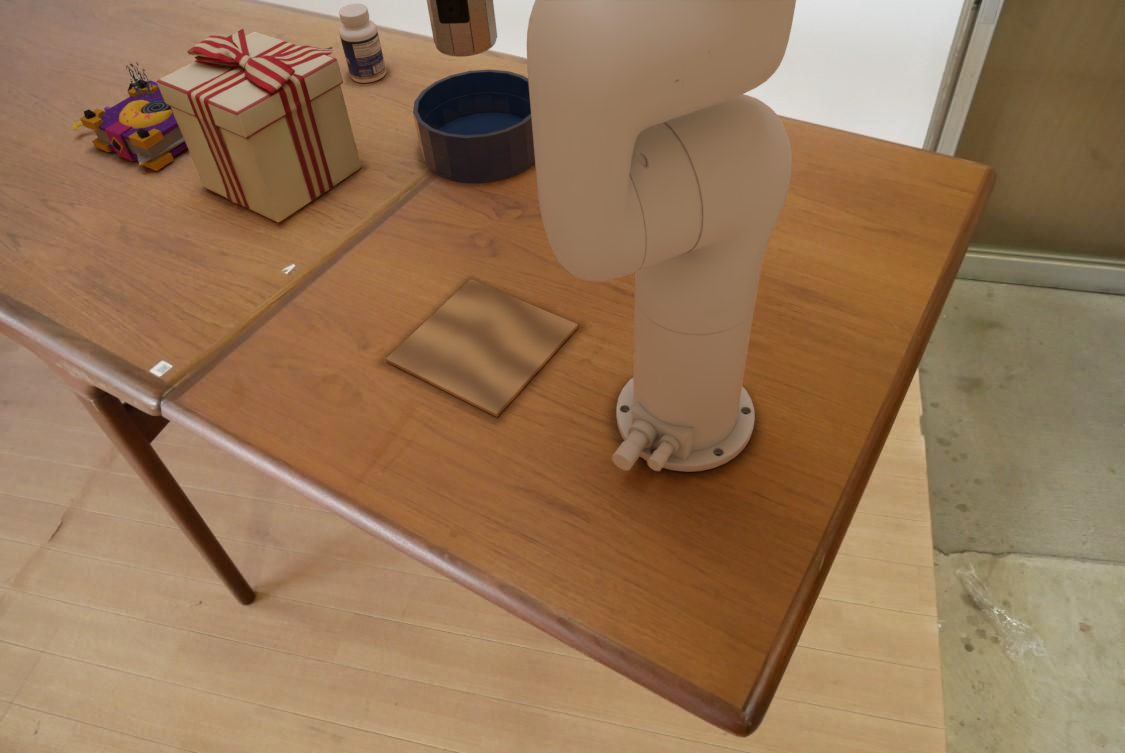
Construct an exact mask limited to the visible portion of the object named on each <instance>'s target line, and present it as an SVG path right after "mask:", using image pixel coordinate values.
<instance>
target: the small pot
mask: <svg viewBox="0 0 1125 753" xmlns="http://www.w3.org/2000/svg"><path fill="white" fill-rule="evenodd" d="M426 4H427V10H428V15H429V21H430V28H431V32H432V38H433V43H434V44H435V48H436V50H437V51H438V52H439V53H441V54H443V55H446V56H450V57H459V58H460V57H462V58H463V57H472V56H477V55H480V54H482V53H485V52H487V51H488V50H490V49H491V48H493V47H494V46H495V45H496V42H497V39H498V31H497V30H498V29H497V22H496V21H497V20H496V14H495V4H494V0H468V7H469V14H470V20H469V22H468V23H454V24H442V23H440V21H439V17H438V11H437V5H436V0H426Z"/></svg>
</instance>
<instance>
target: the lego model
mask: <svg viewBox="0 0 1125 753" xmlns="http://www.w3.org/2000/svg"><path fill="white" fill-rule="evenodd" d="M135 63H136V66H135V65H134V64H133V63H130V62H129V65H126V66H125V68H126V69H128V72H129V75H130V78H129V80H130V83H129V86H128V88H127V94H128V97H127V98H125V99H123V100H122V101H120V102H118V103H116V104H115V105H113V106H111V107H110V106H106V105H105V106H104V107H103V109H100V108H95V109H94V110H91V109H90V108H88V109H86V110H84V111H83V115H84V116H81V117H80V118H79V120H80V121H76V122H75V123H74V124H72V127H71V129H72V130H74V131H77V130H78V128H80V127H82V126H83V127H84V128H87V129H90V130H92V131H94V132H93V135H94V136H96V138H94V139H93V140H92V142H91V143H92V144H93V146H94V148H96V149H99V150H101V151H104V152H107V153H110V152H115V153H116V154H117V157H121V158H123V159H126V160H128V161H131V162H135V161H137V162H138V165H139V166H140V167H141V166H143V167H145V168H148V169H150V170H153V171H155V172H158V171H159V170H161V169H162V168H164V167H165V166H167V165H169V164H170V163H172V162H173V161H174V157H176V156H177V155H178V154H180V153H182V152H183V151H185V150H186V149H188V147H187V145H186V142H185V140H184V138H183V135H182V133H181V130H180V128H179V126H178V123H177V121H176V119H175V116H174V114H173V111H172V109H171V107H170V106H168V105H166V103H165V101H164V99H163V96H162V94H161V91H160V89H159V87H158V84H157V81H153V80H149V77H148V76H147V74H146V70H145V68H142V72H141V71H140V70H139V69H138V68H139V63H138V61H136V62H135ZM137 66H138V67H137ZM130 67H131V68H133V70H132V69H131V68H130ZM134 72H135V73H134ZM142 74H143V75H142ZM135 75H136V76H135ZM136 77H138V78H136Z"/></svg>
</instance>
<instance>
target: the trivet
mask: <svg viewBox="0 0 1125 753" xmlns="http://www.w3.org/2000/svg"><path fill="white" fill-rule="evenodd" d="M578 328H579V325H578V323H576V322H573V321H571V320H569V319H567V318H565V317H562V316H559V315H557V314H554V313H553V312H549V310H548V311H547V310H545V309H543V308H541V307H538V306H536V305H533V304H531V303H528V302H527V301H524V300H522V299H520V298H517V297H515V296H512V295H510V294H508V293H506V292H504V291H501V290H498V289H495V288H493V287H491V286H490V285H489V286H488V285H486V284H484V283H483V282H479V281H477V280H474V279H472V278H470V279H469V280H468V281H467V282H466V283H464V284H463V285H462V286H461V287H460V288H459V289H458V290H457V291H456V292H454V294H453V295H452V296H451V297H449V299H447V301H445V302H444V303H443V304H442V305H441V306H440V307H439V308H438V309H437V310H436V311H435V312H434V313H432V314H431V316H429V318H427V319H426V320H425V321H424V322H423V323H422V324H421V325H420V326H419V327H418V328H416V329H415V330H414V331H413V333H411V334H410V335H409V336H408V337H407V338H406V339H405V340H404V341H403V342H401V344H400V345H399V346H397V348H395V349H394V350H393V351H392V352H391V353H390V354H389V355H388V356H387V357H386V358H385V361H386V363H388V364H389V365H391V366H393V367H395V368H398V369H400V370H402V371H404V372H406V373H408V374H410V375H412V376H414V377H416V378H418V379H420V380H422V381H424V382H426V383H428V384H430V385H432V386H433V387H436V388H438V389H439V390H442V391H444V392H446V393H448V394H450V395H452V396H454V397H455V398H458V399H459V400H462V401H463V402H466V403H468V404H470V405H472V406H473V407H475V408H478V409H480V410H482V411H484V412H486V413H487V414H489V415H492V416H494V417H495V418H498V417H499V416H500V415H501V414H502V413H503V412H504V410H505V409H506V408H507V407H508V406H509V405H510V404H511V402H512V401H513V400H514V399H515V398H516V397H517V396H518V395H519V394H520V393H521V392H522V391H523V389H525V387H526V386H527V385H528V384H529V382H531V381H532V379H534V377H535V376H536V375H537V374H538V372H539V371H541V369H542V368H544V366H545V365H546V364H547V362H548V361H550V359H551V358H552V357H553V356H554V355H555V354H556V353H557V351H559V349H560V348H561V347H562V346H563V345H564V344H565V343H566V341H567V340H568V339H569V338H570V337H571V336H572V335H573V334H574V332H576V330H577V329H578Z"/></svg>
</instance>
